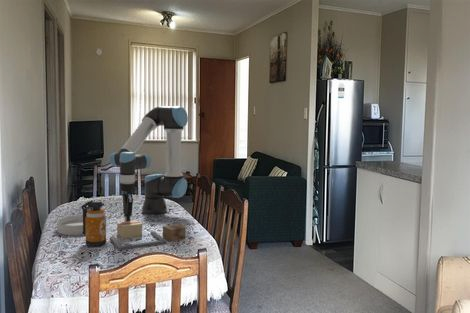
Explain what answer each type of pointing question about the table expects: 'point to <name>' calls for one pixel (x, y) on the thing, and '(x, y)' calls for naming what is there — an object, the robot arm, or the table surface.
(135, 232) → the carton
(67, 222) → the dish
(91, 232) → the canister
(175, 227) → the walnut box
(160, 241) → the dark grey flat u-shape
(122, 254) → the table surface
